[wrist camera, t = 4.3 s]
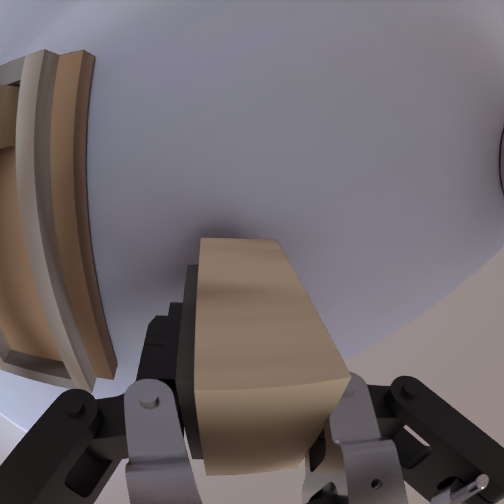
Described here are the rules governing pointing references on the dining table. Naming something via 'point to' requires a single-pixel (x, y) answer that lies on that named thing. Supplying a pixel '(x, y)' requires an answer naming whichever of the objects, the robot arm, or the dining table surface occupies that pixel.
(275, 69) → the dining table surface
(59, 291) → the rail base
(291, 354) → the maple finger
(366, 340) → the dining table surface
